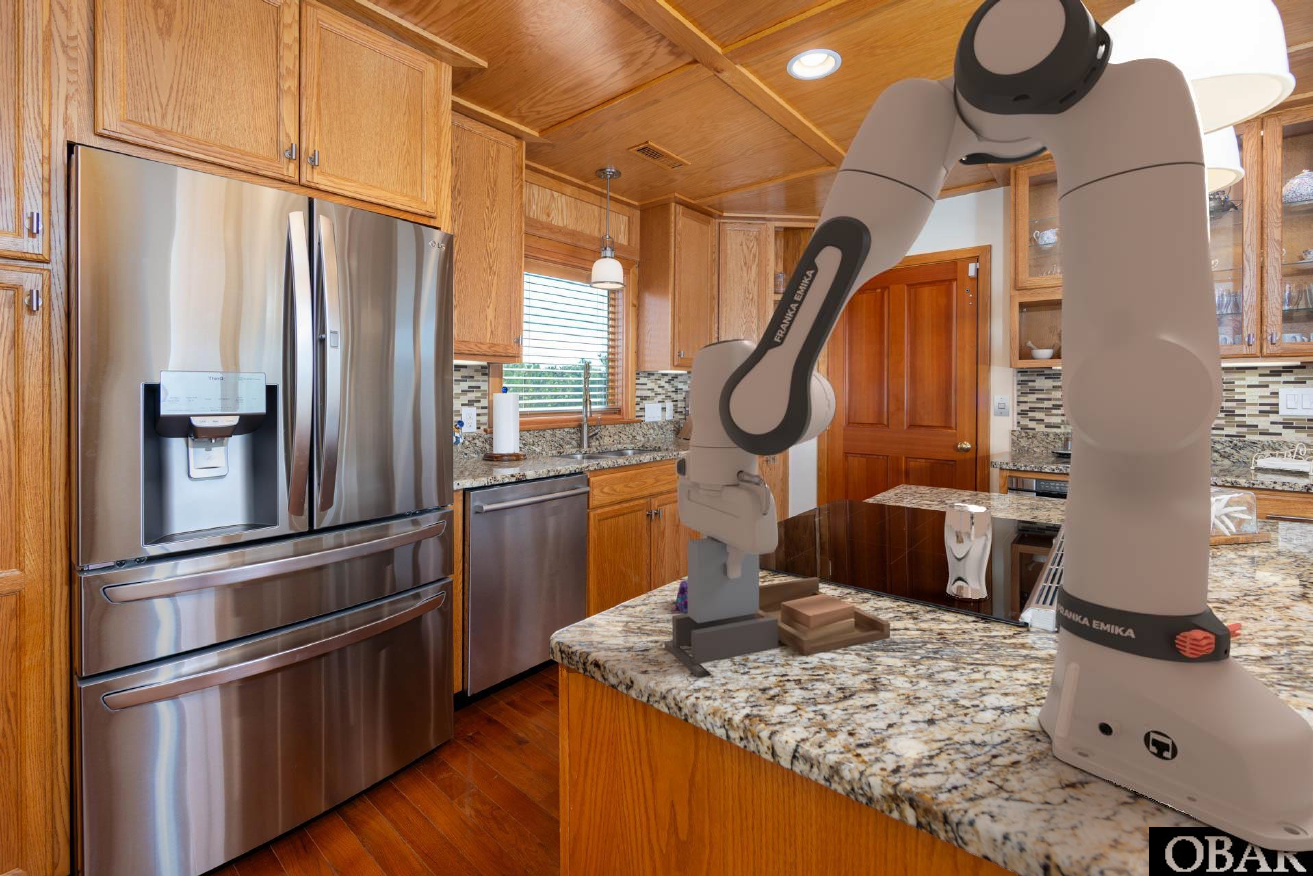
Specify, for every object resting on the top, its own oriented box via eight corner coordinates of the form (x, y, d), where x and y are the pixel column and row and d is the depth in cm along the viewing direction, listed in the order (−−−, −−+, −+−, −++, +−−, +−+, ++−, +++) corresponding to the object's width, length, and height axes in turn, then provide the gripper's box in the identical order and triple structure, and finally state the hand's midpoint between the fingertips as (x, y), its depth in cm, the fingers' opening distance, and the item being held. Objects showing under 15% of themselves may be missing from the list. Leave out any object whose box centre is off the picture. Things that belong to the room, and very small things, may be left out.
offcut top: (854, 618, 86) (854, 605, 86) (810, 629, 83) (810, 615, 82) (823, 605, 92) (823, 593, 92) (780, 615, 88) (780, 602, 88)
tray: (889, 644, 84) (890, 608, 84) (804, 663, 79) (804, 624, 78) (815, 608, 99) (815, 577, 98) (739, 621, 93) (739, 588, 93)
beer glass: (1000, 600, 101) (1002, 509, 100) (968, 605, 99) (970, 512, 98) (964, 587, 108) (966, 502, 107) (934, 593, 105) (935, 505, 104)
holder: (788, 658, 80) (788, 622, 80) (698, 678, 75) (697, 639, 75) (747, 631, 89) (747, 599, 89) (664, 647, 84) (664, 612, 84)
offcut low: (854, 632, 86) (854, 619, 86) (806, 641, 83) (806, 628, 83) (826, 618, 92) (826, 606, 91) (780, 626, 88) (780, 614, 88)
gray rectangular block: (758, 612, 82) (759, 538, 81) (698, 623, 79) (697, 545, 78) (746, 605, 85) (747, 533, 84) (687, 615, 81) (687, 540, 81)
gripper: (791, 475, 72) (790, 592, 73) (708, 458, 91) (708, 551, 92) (744, 478, 70) (744, 599, 71) (669, 460, 88) (670, 556, 89)
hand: (723, 572), depth 81 cm, fingers closed on gray rectangular block, 3 cm apart
